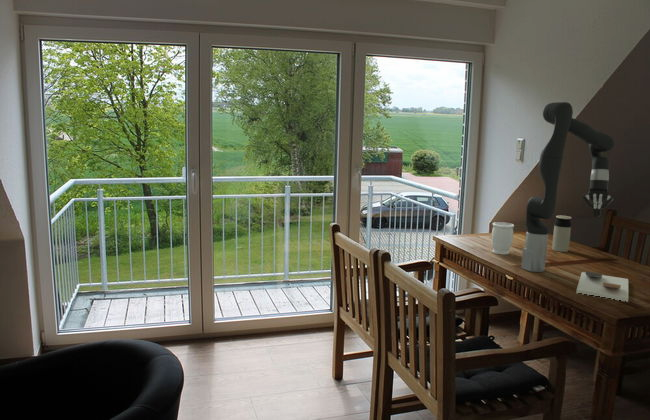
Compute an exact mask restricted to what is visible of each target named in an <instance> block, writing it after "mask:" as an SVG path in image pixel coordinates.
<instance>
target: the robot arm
mask: <svg viewBox="0 0 650 420" xmlns="http://www.w3.org/2000/svg"><path fill="white" fill-rule="evenodd" d="M573 110H574V109H573V106H572V104H571V103H570V102H567V101H562V102H561V101H560V102H559V101H558V102H549V103H548V104H546V105H545V106H544V107H543V110H542V117H543V119H544V121H545V122H547V123H548V124H550V125H551V124H552V125H553V131H552V134H551V135H550V137H549V139H548V141H547V142H545V145H544V146H543V148H542V149H541V151H540V155H539V161H538V171H539V174H540V178H541V180H542V182H543V185H544V186H543V187H544V195H543V197H542V196H532V197H530V198H529V199H528V201H527V203H526V204H527V205H526V210H525V211H526V213H525V214H526V215H525V228H526V232H525V233H526V234H525V243H524V247H523V248H522V256H521V257H522V258H521V267H520V268H521V269H523V270H525V271H528V272H531V273H532V272H533V273H541V272H545V268H546V260H547V259H546V257H547V251H548V250H547V249H548V240H549V230H550V229H549V227H548V226H547V225H546V224H545V223H543V222H542V220H541V219H543V220H550V219H552V218H553V216H554V214H555V212H556V208H557V196H558V185H559V178H560V172H561V168H562V163H563V158H564V151H565V146H566V141H567V137H568V133H570V134H572V135H573V136H575V137H576V138H578V139H579V140H580V141H582V142H584V144H588V146H589V147H588V148H589V152H590V158H591V173H590V180H589V191H588V193H587V194H586V195H584V196H582V198H583V200H584V201H585V202H586V204H587V205H588V206H589V207H590V208H592V209H593V216H594V218H599V217H601V213H602V211H601V210H602V209H605V208H607V207H608V205H610V204H611V203H612V202H613V201H614V198H613V197H611V195H609V194H610V193H609V180H610V173H609V172H610V171H609V169H610V159H609V157H606V156H603V155H602V153H606V152H610V151H612V150H613V149H614V148H615V145H616V142H615V140H614V138H613V137H612V136H611V135H609V134H607V133H605V132H601V131H599V130H597V129H595V127H593V126H591V125H590V124H588V123H586V122H585V121H584V122H583V121H581V120H578V119H576V118H574V117H573V113H574V111H573ZM590 199H591V200H592V202H593V203H592V202H591V201H590ZM605 200H607V201H606V202H604V201H605ZM603 202H604V203H603Z"/></svg>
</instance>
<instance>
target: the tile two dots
mask: <svg viewBox="0 0 650 420" xmlns="http://www.w3.org/2000/svg"><path fill="white" fill-rule="evenodd" d="M603 286H608V287H610V288H620V287H621V285H617V284H611V283H604V282H603Z"/></svg>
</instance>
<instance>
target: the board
mask: <svg viewBox="0 0 650 420" xmlns="http://www.w3.org/2000/svg"><path fill="white" fill-rule="evenodd" d="M603 282H604V283H611V284H617V285H621V287H620V288H610V287H608V286H603ZM575 293H576V294H578V293H582V294H581V295H584V294H587V295H586V296H589V295H594V296H593V297H595V296H600V297H599V298H601V297H606V298H605V299H607V298H611V299H610V300H613V299H615V301H619V300H621V301H620V302H625V301H626V303H629V279H628V278H623V277H617V276H612V275H611V276H610V275H605V274H602V277H593V276H590V275H586V271H585V272H584V271H582V272H581V274H580V277H579V281H578V284H577V286H576V292H575Z"/></svg>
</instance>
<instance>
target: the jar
mask: <svg viewBox="0 0 650 420" xmlns="http://www.w3.org/2000/svg"><path fill="white" fill-rule="evenodd" d="M514 227H515V225H514V224H513V223H510V222H504V221H502V222H501V221H498V222H497V221H495V222H492V229H491V230H492V231H491V246H492V248H493V249H492V253H494V254H495V255H496V254H497V255H503V256H504V255H509V254H510V249H511V247H512V243H513V240H514V239H513V238H514Z"/></svg>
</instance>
